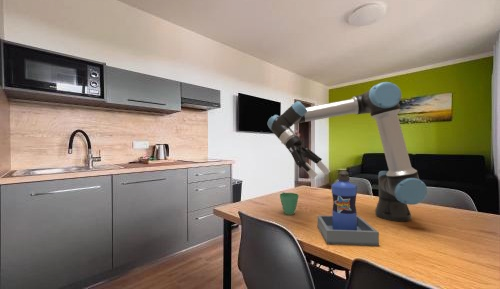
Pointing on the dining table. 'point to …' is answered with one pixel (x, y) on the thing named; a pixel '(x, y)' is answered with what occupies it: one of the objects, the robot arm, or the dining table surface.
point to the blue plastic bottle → (344, 203)
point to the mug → (289, 202)
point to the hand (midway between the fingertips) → (322, 174)
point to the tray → (348, 233)
